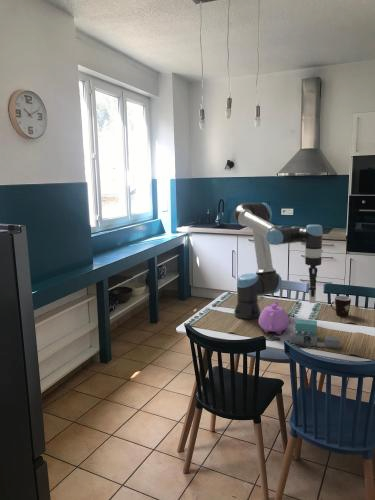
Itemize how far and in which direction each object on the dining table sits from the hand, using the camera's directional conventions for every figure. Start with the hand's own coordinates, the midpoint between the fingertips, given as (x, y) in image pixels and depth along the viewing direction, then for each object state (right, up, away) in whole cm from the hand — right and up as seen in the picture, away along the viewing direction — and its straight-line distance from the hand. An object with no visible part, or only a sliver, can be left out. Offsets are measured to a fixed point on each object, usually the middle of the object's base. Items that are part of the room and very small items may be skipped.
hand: (312, 298), depth 191 cm
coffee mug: (+24, -13, +28) cm, 39 cm away
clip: (-3, -19, 0) cm, 19 cm away
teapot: (-17, -17, +9) cm, 26 cm away
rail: (-2, -20, -10) cm, 23 cm away
